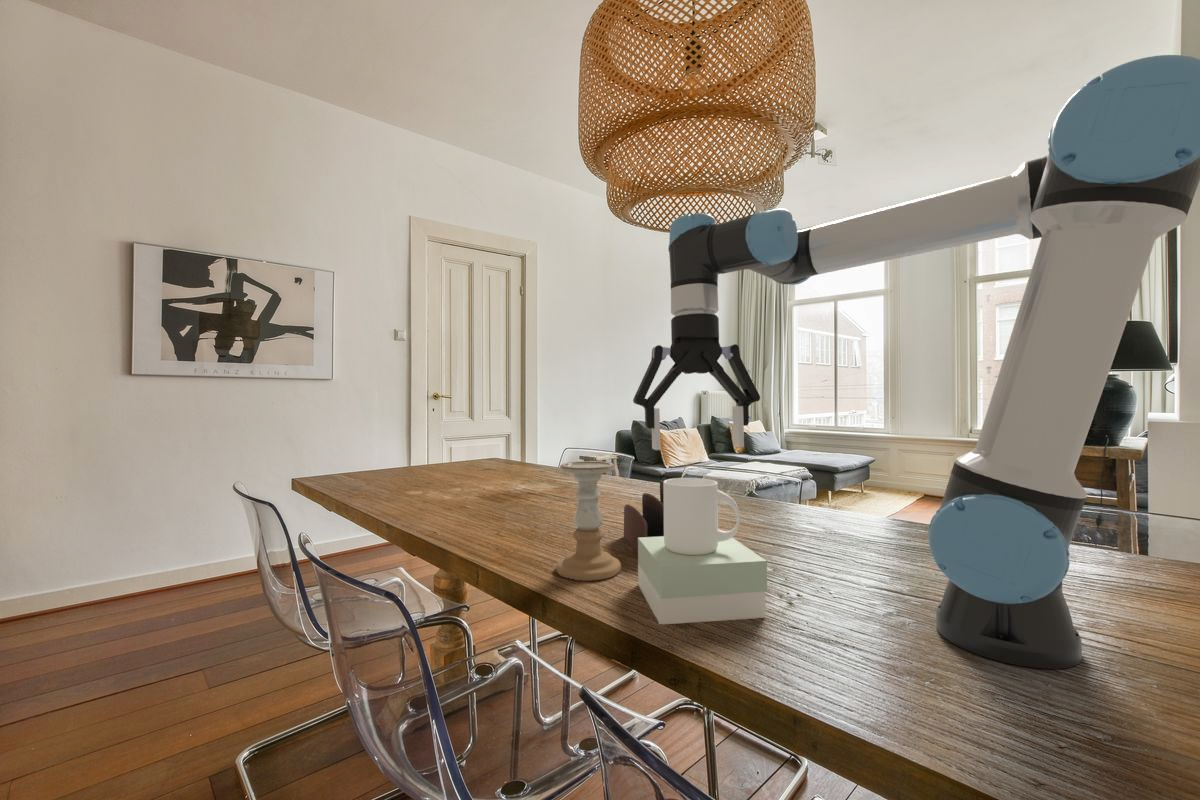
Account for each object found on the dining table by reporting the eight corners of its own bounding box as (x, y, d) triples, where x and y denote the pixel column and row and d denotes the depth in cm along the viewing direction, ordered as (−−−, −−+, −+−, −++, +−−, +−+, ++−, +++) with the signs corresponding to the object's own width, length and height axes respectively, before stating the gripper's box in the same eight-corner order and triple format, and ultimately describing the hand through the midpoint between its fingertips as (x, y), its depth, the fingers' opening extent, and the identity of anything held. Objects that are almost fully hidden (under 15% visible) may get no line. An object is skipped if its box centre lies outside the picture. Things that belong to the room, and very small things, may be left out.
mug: (739, 560, 77) (738, 488, 77) (659, 553, 81) (658, 484, 81) (741, 544, 85) (740, 479, 85) (668, 539, 89) (668, 476, 89)
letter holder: (664, 535, 124) (663, 475, 124) (693, 560, 104) (692, 490, 104) (623, 537, 122) (622, 477, 122) (644, 564, 102) (644, 492, 102)
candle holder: (622, 581, 93) (621, 468, 92) (553, 582, 93) (552, 469, 92) (619, 559, 105) (618, 459, 105) (558, 560, 105) (557, 460, 105)
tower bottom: (765, 621, 77) (765, 591, 77) (659, 628, 75) (659, 597, 75) (726, 583, 93) (726, 558, 93) (638, 588, 91) (637, 562, 91)
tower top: (767, 591, 77) (766, 560, 77) (661, 598, 75) (661, 567, 75) (726, 558, 93) (725, 533, 93) (638, 563, 90) (637, 537, 90)
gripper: (759, 318, 88) (762, 443, 88) (614, 319, 86) (617, 448, 86) (779, 311, 81) (782, 447, 81) (621, 311, 78) (624, 452, 78)
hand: (697, 448), depth 83 cm, fingers open, 13 cm apart
